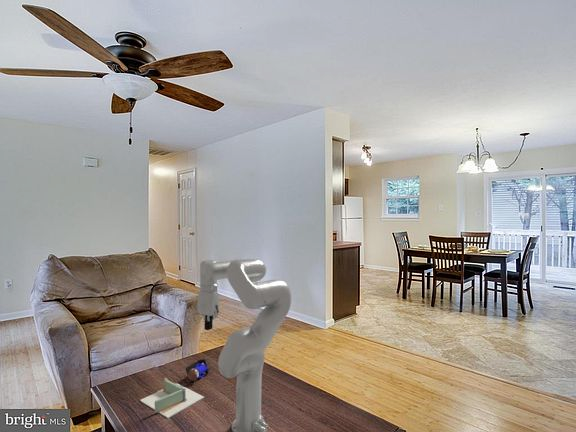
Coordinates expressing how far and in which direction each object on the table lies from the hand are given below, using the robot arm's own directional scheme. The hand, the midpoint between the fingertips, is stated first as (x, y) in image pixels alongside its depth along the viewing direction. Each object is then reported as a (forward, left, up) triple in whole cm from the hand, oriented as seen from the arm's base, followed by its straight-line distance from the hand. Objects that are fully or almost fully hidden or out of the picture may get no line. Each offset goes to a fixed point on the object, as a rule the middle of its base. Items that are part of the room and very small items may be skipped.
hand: (208, 329), depth 146 cm
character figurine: (+15, -7, -29) cm, 34 cm away
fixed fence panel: (+11, +10, -29) cm, 33 cm away
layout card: (+9, +12, -29) cm, 33 cm away
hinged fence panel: (+5, +16, -28) cm, 33 cm away
